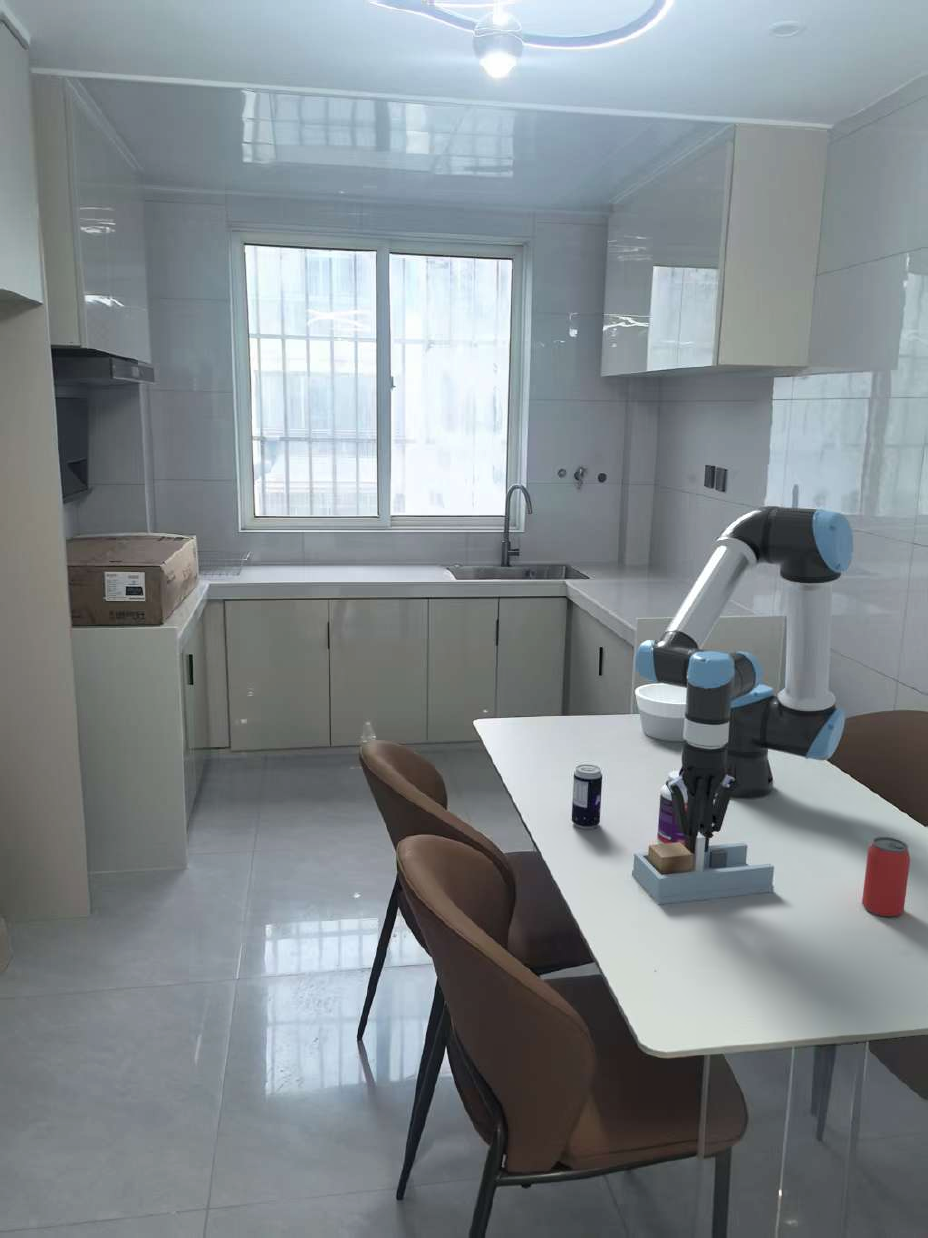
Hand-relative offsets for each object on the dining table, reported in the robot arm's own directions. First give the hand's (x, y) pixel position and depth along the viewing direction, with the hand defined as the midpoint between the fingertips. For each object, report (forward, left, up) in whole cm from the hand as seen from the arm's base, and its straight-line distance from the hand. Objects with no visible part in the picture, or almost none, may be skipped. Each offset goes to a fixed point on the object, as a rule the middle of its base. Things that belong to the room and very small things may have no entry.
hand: (695, 868), depth 172 cm
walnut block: (+5, 0, -2) cm, 5 cm away
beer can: (-28, +15, -3) cm, 31 cm away
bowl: (-35, -79, -3) cm, 86 cm away
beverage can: (+9, -28, -3) cm, 30 cm away
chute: (-2, 0, -3) cm, 3 cm away
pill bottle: (-5, -15, -3) cm, 16 cm away
